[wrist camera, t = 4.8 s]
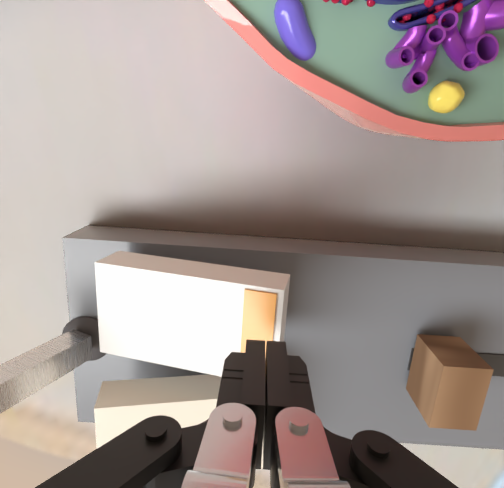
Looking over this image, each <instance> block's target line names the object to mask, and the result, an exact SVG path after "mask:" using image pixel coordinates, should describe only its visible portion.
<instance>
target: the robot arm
mask: <svg viewBox="0 0 504 488" xmlns="http://www.w3.org/2000/svg"><path fill="white" fill-rule="evenodd" d="M262 446H263V469H268V470H270V488H458V487H457V486H456V485H454V484H453V483H452V482H450V481H449V480H448V479H446V478H445V477H444V476H442V475H441V474H440V473H438V472H437V471H436V470H434V469H433V468H432V467H430V466H429V465H428V464H426V463H425V462H423V461H422V460H421V459H419V458H418V457H417V456H415V455H414V454H413V453H411V452H410V451H409V450H407V449H406V448H405V447H403V446H402V445H401V444H399V443H398V442H397V441H395V440H394V439H393V438H391V437H390V436H388V435H386V434H384V433H382V432H379V431H374V430H363V431H360V432H358V433H357V434H355V435H354V437H353V439H352V440H351V439H348V438H345V437H342V436H339V435H336V434H334V433H332V432H330V431H329V430H327V429H326V428H325V427H324V426H323V424H322V422H321V420H320V418H319V417H318V416H317V415H316V413H315V408H314V403H313V397H312V392H311V387H310V381H309V376H308V371H307V365H306V364H305V362H304V361H303V360H302V359H301V358H300V356H291V355H287V349H286V342H283V341H267V342H266V356H265V340H249V339H247V340H246V350H245V353H242V352H231V353H230V354H229V355H228V357H227V358H226V359H225V361H224V366H223V372H222V378H221V382H220V388H219V393H218V399H217V404H216V408H215V409H214V410H213V411H212V412H211V414H210V416H209V419H207V420H206V421H204V422H202V423H200V424H198V425H194V426H190V427H185V428H181V426H180V424H179V422H178V421H177V420H175V419H174V418H172V417H169V416H163V415H158V416H152V417H149V418H146V419H144V420H142V421H141V422H139V423H137V424H136V425H134V426H133V427H131V428H129V429H128V430H126V431H125V432H123V433H121V434H120V435H118V436H117V437H115V438H113V439H112V440H110V441H109V442H107V443H106V444H104V445H102V446H101V447H99V448H98V449H96V450H94V451H93V452H91V453H90V454H88V455H86V456H85V457H83V458H82V459H80V460H78V461H77V462H75V463H74V464H72V465H71V466H69V467H67V468H66V469H64V470H62V471H61V472H59V473H58V474H56V475H54V476H53V477H51V478H50V479H48V480H47V481H45V482H43V483H42V484H40V485H39V486H37V487H35V488H253V486H254V481H255V469H261V460H262Z"/></svg>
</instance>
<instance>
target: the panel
mask: <svg viewBox="0 0 504 488" xmlns="http://www.w3.org/2000/svg"><path fill="white" fill-rule="evenodd" d="M62 240H63V251H64V263H65V275H66V286H67V298H68V310H69V321H70V322H69V323H68V324H67V325H66V326H65V327H64V329H63V333H62V335H63V334H65V333H67V332H69V331H71V330H73V329H75V330H77V331H80V332H82V333H85V334H87V335H90V336H91V342H92V357H93V358H92V359H90V360H88V361H87V362H85V363H83V364H82V365H80V366H78V367H77V368H75V369H74V380H75V391H76V403H77V415H78V422H93V423H95V417H94V407H95V404H96V400H97V397H98V394H99V391H100V388H101V385H102V382H103V381H115V380H131V379H146V378H161V377H177V376H192V375H207V374H205V373H200V372H196V371H191V370H186V369H181V368H176V367H171V366H166V365H161V364H156V363H151V362H147V361H142V360H137V359H132V358H127V357H122V356H117V355H112V354H107V353H102V352H100V344H99V327H98V311H97V295H96V278H95V262H96V261H98V260H100V259H103V258H105V257H107V256H109V255H111V254H113V253H115V252H117V251H125V252H132V253H139V254H146V255H154V256H161V257H168V258H175V259H182V260H190V261H197V262H204V263H211V264H219V265H226V266H233V267H240V268H248V269H255V270H262V271H269V272H277V273H284V274H290V284H289V294H288V304H287V314H286V324H285V335H284V342H286V349H287V355H291V356H300V358H301V359H302V360H303V361H304V362H305V364H306V365H307V371H308V376H309V381H310V387H311V392H312V397H313V403H314V408H315V413H316V415H317V416H318V417H319V418H320V420H321V422H322V424H323V426H324V427H325V428H326V429H327V430H329V431H330V432H332V433H334V434H336V435H339V436H342V437H345V438H348V439H353V437H354V435H355V434H357V433H358V432H360V431H363V430H374V431H379V432H382V433H384V434H386V435H388V436H390V437H391V438H393V439H394V440H395V441H397V442H398V443H413V444H428V445H443V446H458V447H474V448H489V449H504V252H490V251H475V250H460V249H444V248H429V247H414V246H398V245H383V244H368V243H352V242H337V241H322V240H306V239H291V238H275V237H260V236H245V235H229V234H214V233H199V232H183V231H168V230H153V229H137V228H122V227H107V226H91V225H88V226H85V227H83V228H81V229H79V230H77V231H75V232H73V233H71V234H69V235H67V236H65V237H63V238H62ZM417 334H423V335H438V336H454V337H461V338H462V339H463V340H464V341H465V342H466V343H467V344H468V345H469V346H470V347H471V348H472V349H473V350H474V351H475V352H476V353H477V354H478V355H479V356H480V357H481V358H482V359H483V360H484V361H485V362H486V363H487V364H489V365H490V366H491V367H492V368H493V369H494V370H493V374H492V377H491V381H490V384H489V388H488V391H487V395H486V398H485V402H484V405H483V409H482V412H481V416H480V419H479V423H478V426H477V430H476V431H473V430H458V429H443V428H429V427H428V425H427V423H426V422H425V420H424V418H423V417H422V415H421V413H420V412H419V410H418V408H417V407H416V405H415V403H414V401H413V400H412V398H411V396H410V395H409V393H408V391H407V390H406V385H407V381H408V376H409V371H410V366H411V362H412V357H413V352H414V348H415V343H416V338H417Z"/></svg>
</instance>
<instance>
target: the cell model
mask: <svg viewBox="0 0 504 488" xmlns="http://www.w3.org/2000/svg"><path fill="white" fill-rule="evenodd" d="M204 1H205V2H206V3H207V4H208V5H209V6H210V7H211V8H212V9H213V10H214V11H215V12H216V13H217V14H218V15H219V16H220V17H221V18H222V19H223V20H224V21H225V22H226V23H227V24H229V25H230V26H231V27H232V28H233V29H234V30H235V31H236V32H237V33H238V34H239V35H240V36H241V37H242V38H243V39H244V40H245V41H246V42H247V43H248V44H249V45H250V46H251V47H252V48H253V49H254V50H255V51H256V52H257V53H258V55H259V56H260V57H261V58H262V59H264V60H265V61H266V62H267V63H268V64H269V65H270V66H271V67H272V68H273V69H274V70H276V71H277V72H278V73H279V74H281V75H282V76H283V77H285V78H286V79H287V80H289V81H290V82H291V83H293V84H294V85H295V86H297V87H298V88H300V89H301V90H302V91H304V92H305V93H307V94H308V95H310V96H311V97H312V98H314V99H315V100H317V101H318V102H319V103H321V104H322V105H324V106H325V107H326V108H328V109H329V110H330V111H332V112H333V113H335V114H336V115H338V116H340V117H341V118H343V119H345V120H346V121H348V122H350V123H352V124H353V125H355V126H358V127H360V128H363V129H365V130H368V131H372V132H376V133H381V134H386V135H393V136H402V137H411V138H421V139H430V140H438V141H494V140H504V0H204Z"/></svg>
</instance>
